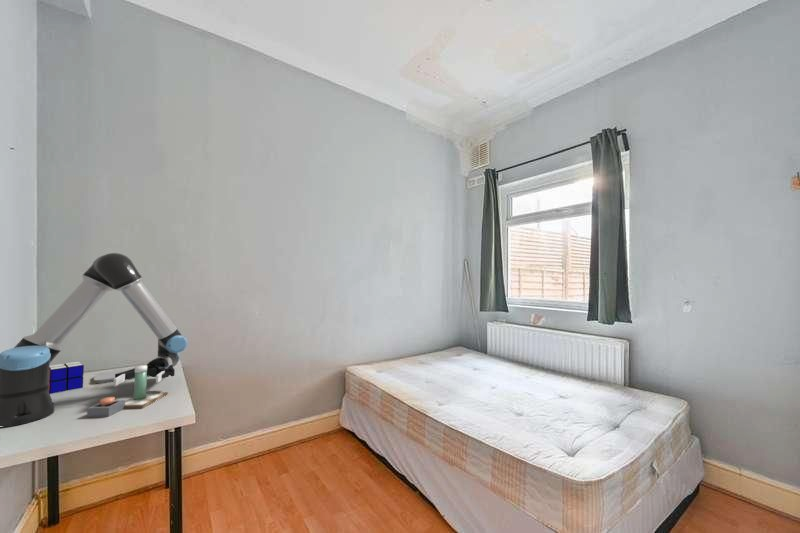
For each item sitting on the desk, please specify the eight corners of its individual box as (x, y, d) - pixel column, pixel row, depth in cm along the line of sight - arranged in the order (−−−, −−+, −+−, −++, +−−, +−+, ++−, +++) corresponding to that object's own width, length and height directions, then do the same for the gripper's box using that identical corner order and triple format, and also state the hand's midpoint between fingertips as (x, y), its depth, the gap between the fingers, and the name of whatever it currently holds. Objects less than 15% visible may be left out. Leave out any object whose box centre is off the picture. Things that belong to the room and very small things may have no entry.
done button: (108, 405, 111) (108, 400, 111) (96, 405, 111) (96, 401, 111) (117, 400, 115) (117, 396, 115) (105, 401, 115) (106, 396, 115)
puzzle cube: (49, 394, 131) (50, 369, 132) (46, 389, 137) (47, 365, 138) (83, 387, 139) (84, 364, 140) (78, 383, 145) (79, 361, 146)
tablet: (164, 375, 159) (165, 370, 159) (92, 386, 142) (93, 380, 142) (162, 368, 171) (162, 363, 172) (96, 377, 155) (96, 372, 155)
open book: (142, 408, 116) (142, 403, 116) (113, 409, 116) (113, 404, 116) (167, 394, 130) (168, 390, 130) (142, 395, 130) (142, 390, 130)
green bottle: (141, 400, 121) (142, 367, 122) (130, 400, 121) (132, 368, 122) (148, 396, 125) (149, 365, 126) (138, 396, 125) (139, 365, 125)
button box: (108, 416, 109) (109, 407, 110) (87, 417, 109) (87, 408, 109) (124, 408, 116) (125, 400, 117) (104, 408, 116) (105, 400, 116)
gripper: (190, 372, 144) (174, 387, 124) (124, 377, 136) (95, 394, 116) (191, 355, 144) (174, 367, 124) (125, 359, 137) (96, 373, 116)
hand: (136, 380), depth 120 cm, fingers open, 12 cm apart
